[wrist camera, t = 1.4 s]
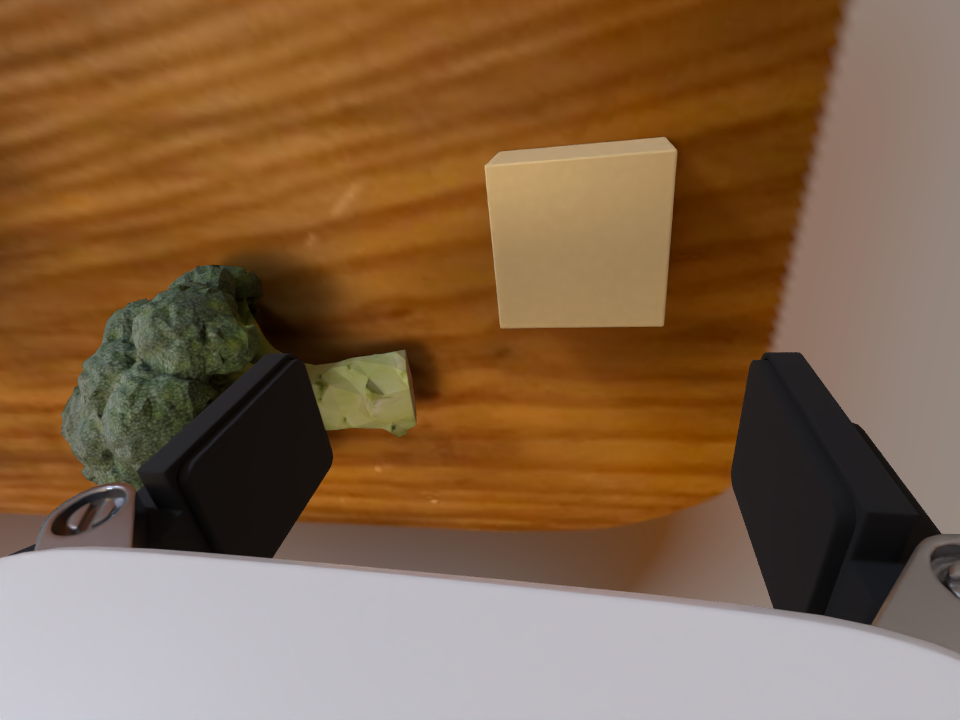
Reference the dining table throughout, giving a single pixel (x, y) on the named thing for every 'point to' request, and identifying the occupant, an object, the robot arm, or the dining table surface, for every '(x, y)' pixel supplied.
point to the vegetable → (205, 374)
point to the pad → (582, 233)
